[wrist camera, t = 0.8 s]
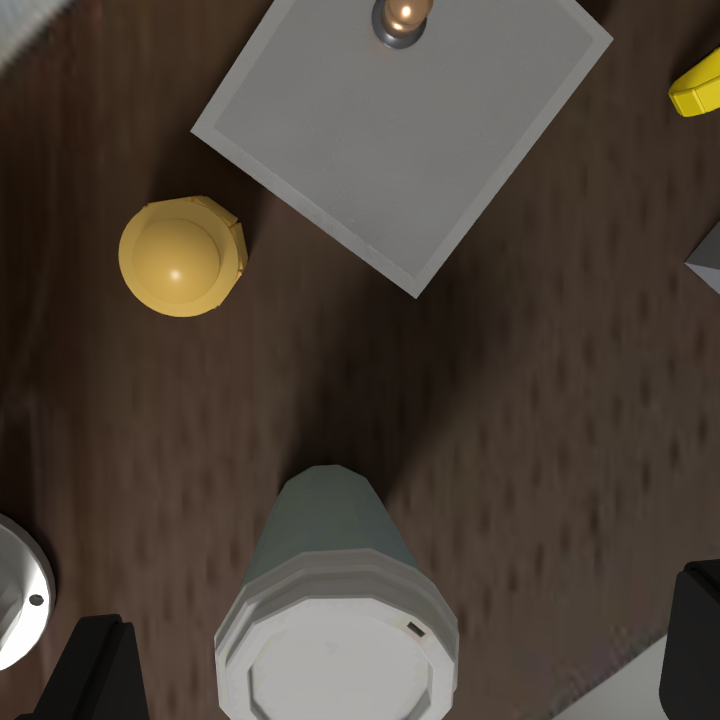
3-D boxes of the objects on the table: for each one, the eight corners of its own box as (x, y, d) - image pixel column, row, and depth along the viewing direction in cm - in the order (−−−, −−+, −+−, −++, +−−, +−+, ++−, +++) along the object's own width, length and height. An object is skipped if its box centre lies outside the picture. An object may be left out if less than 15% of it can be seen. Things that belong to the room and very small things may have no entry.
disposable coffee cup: (325, 604, 40) (345, 838, 26) (200, 511, 37) (145, 717, 23) (438, 498, 39) (525, 683, 24) (318, 392, 36) (337, 533, 22)
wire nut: (210, 315, 34) (194, 343, 28) (124, 259, 32) (89, 276, 27) (264, 237, 33) (259, 249, 27) (179, 175, 31) (154, 175, 26)
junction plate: (407, 290, 35) (430, 312, 29) (198, 135, 31) (177, 125, 25) (589, 49, 32) (655, 20, 26) (383, -152, 28) (406, -237, 23)
